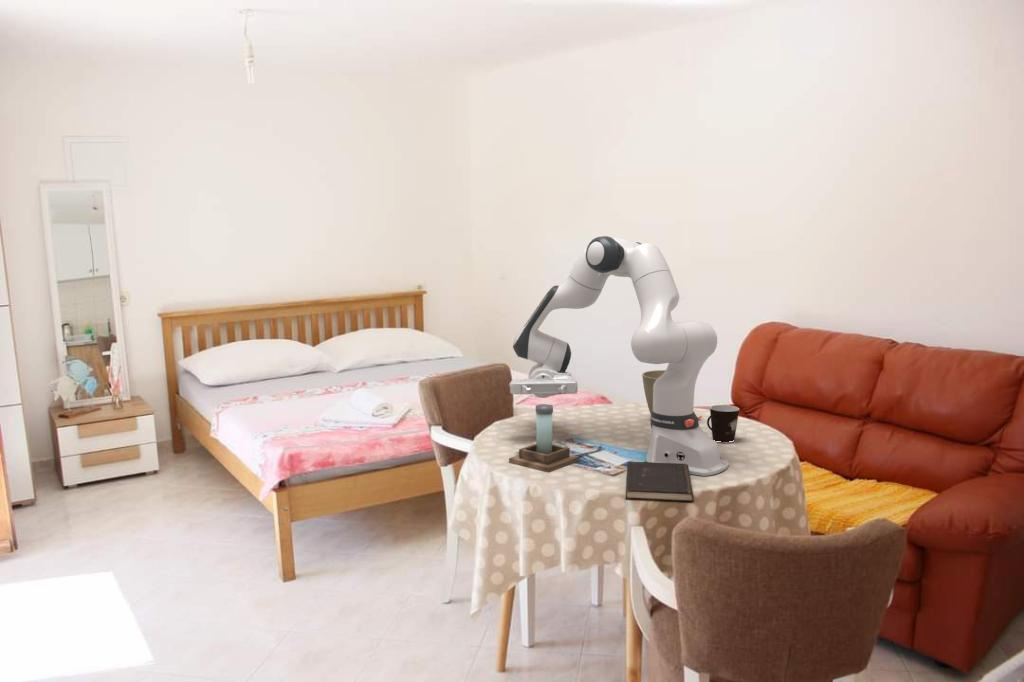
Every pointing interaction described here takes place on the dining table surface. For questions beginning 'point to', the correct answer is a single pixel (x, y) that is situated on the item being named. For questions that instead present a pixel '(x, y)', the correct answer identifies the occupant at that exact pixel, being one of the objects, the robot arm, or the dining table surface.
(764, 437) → the dining table surface
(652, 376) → the plant pot
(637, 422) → the dining table surface
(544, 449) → the capped tube
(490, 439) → the dining table surface
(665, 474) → the hardcover book
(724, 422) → the coffee mug
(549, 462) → the walnut rack
